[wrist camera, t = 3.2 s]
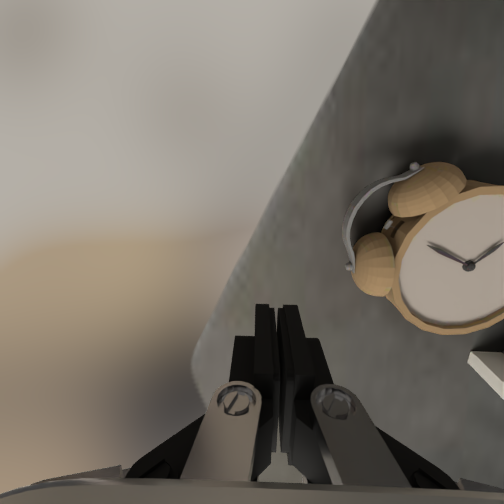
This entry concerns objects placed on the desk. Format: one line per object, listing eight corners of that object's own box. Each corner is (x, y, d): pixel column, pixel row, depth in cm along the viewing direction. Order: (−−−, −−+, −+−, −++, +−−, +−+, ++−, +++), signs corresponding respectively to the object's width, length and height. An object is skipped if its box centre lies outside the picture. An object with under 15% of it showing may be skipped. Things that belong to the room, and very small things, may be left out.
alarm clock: (481, 355, 23) (324, 295, 19) (437, 317, 27) (303, 262, 23) (594, 231, 19) (433, 124, 15) (523, 212, 24) (383, 125, 20)
